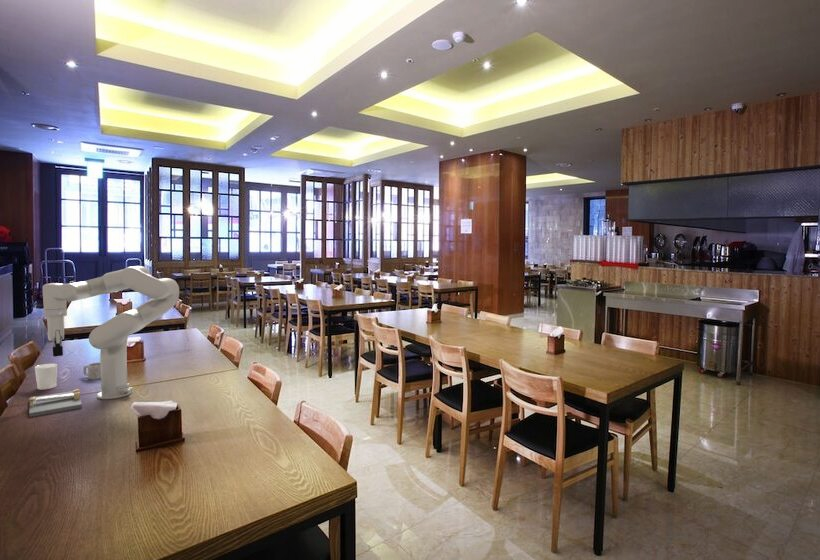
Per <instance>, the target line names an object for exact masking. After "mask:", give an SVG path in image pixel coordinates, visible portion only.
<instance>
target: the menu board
mask: <svg viewBox="0 0 820 560" xmlns="http://www.w3.org/2000/svg"><path fill="white" fill-rule="evenodd" d="M71 393H74V398H65V399H57V400H49V401H40V402H36V397H45V396H54V395H62V394H71ZM82 407H83V403H82V400H81V392H80V389H79V388H78V389H73V390H69V391H64V392H57V393H52V394H51V393H50V394H45V395H39V396H29V409H28V410H29V411H28V414H29V418H32V416H33V417H37V416H44V415H49V414H54V413H61V412H66V411H72V410H77V409H82Z"/></svg>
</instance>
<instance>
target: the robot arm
mask: <svg viewBox="0 0 820 560" xmlns="http://www.w3.org/2000/svg"><path fill="white" fill-rule="evenodd" d="M128 289H130V290H132V291H134V292H137V293H139V294H140V295H143V296H146V297H148V298H150V299H149V300H147V301H145V302H144V303H142V304H140V305H138V306H137V307H135V308H133V309H129V310H126V311H123V312H121V313H119V314H117V315H115V316H113V317H112V318H110V319H109V320H107V321H105V322H103V323H101V324H100V325H98V326H97V327H95V328H93V330H91V332H90V334H89V336H88V342H89V344H90V346H92V347H93V348H94V349H97V350H100V353H99V360H100V362H99V363H100V367H101V379H100V388H101V391H99V392H98V393H97V394H96V395H97V396H96V397H97V399H100V400H112V399H113V400H114V399H120V398H123V397H127V396H129V395H131V394H132V393H133V391H134V389H135V388H134V387H132V386H130V383H128V365H127V364H128V363H127V360H128V359H127V357H128V356H127V355H128V354H127V353H128V352H127V347H128V346H127V345H128V337H129V336H131V335H133V334H134V333H137V332H139V331H141V330H142V329H144V328H145V327H147V326H148V325H149V324H151V323H152V322H154V321H156V320H158V318H161V317H162V316H163V315H165V314H167V313H168V312H169V311H170V310H172V309H173V307H174V306H175V305H176V304H177V302H178V300H179V297H180V286H179V284H178V283H177V281H176V280H174V279H173V278H170V277H169V278H168V277H163V278H157V277H154V276H152V275H151V272H150V271H149V269H148V268H147V267H145V266H143V265H134V266H127V267H125V268H124V269H119V270H114V271H110V272H106V273H105V274H104V273H103V275H101V276H98V277H95V278H92V279H88V280H83V281H77V282H69V283H62V282H61V283H59V282H58V283H57V282H56V283H55V282H51V283H46V284H45V283H44V285H42V299H43V300H42V302H43V303H42V304H43V317H44V318H47V319H46V321H47V322H46V325H47V339H48V341H49V342H52V356H53V357H62V356H64V350H63V349H64V347H63V344H62V343H63V341H64V339H65V317H67V316H68V311H67V302H75V301H79V300H85V299H89V298H92V297H97V296H100V295H103V294H108V293H110V294H111V293H116V292H120V291H123V290H128ZM62 340H63V341H62Z"/></svg>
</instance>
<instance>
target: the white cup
mask: <svg viewBox="0 0 820 560" xmlns="http://www.w3.org/2000/svg"><path fill="white" fill-rule="evenodd" d="M34 372H35V373H34V374H35V381H36V386H37V388H36V389H37V390H40V391H41V390H50V389H54V388H56V387H57V380H58V364H57V363H43V364H38V365H36V366H34Z"/></svg>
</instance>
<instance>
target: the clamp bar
mask: <svg viewBox="0 0 820 560" xmlns="http://www.w3.org/2000/svg"><path fill="white" fill-rule="evenodd" d="M35 397H36V402H40V401H49V400H57V399H65V398H74V393H71V394H62V395H54V396H45V397H37V396H35Z"/></svg>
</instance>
